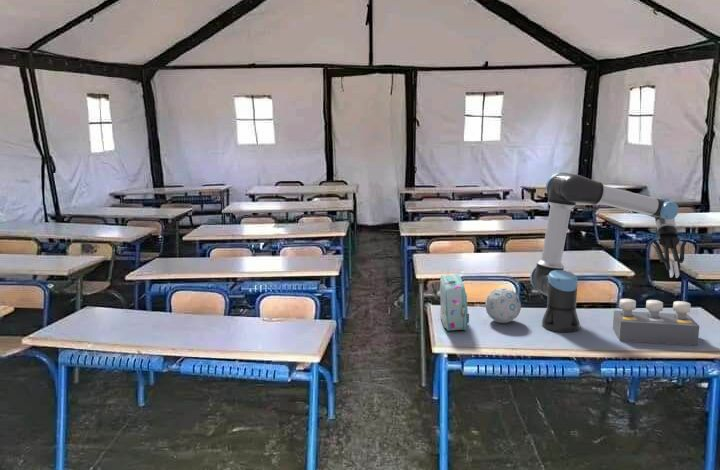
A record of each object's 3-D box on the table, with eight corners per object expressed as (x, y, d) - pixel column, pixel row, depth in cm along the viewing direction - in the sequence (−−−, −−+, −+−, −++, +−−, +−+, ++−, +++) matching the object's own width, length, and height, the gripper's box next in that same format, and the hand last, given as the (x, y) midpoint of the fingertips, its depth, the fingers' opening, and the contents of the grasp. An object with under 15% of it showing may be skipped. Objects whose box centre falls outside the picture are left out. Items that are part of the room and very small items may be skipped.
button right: (674, 324, 227) (676, 305, 226) (670, 319, 233) (671, 300, 231) (691, 325, 226) (692, 306, 224) (686, 320, 231) (688, 301, 230)
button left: (620, 321, 232) (621, 302, 230) (617, 316, 237) (618, 298, 236) (636, 322, 230) (637, 303, 229) (632, 317, 236) (634, 299, 235)
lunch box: (470, 335, 237) (471, 285, 233) (445, 335, 237) (445, 285, 233) (460, 314, 263) (461, 269, 259) (438, 314, 263) (438, 269, 259)
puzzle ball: (483, 325, 247) (484, 292, 245) (487, 314, 261) (487, 283, 259) (519, 329, 243) (520, 295, 240) (521, 317, 257) (522, 285, 254)
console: (619, 340, 227) (620, 321, 226) (612, 328, 241) (613, 310, 239) (697, 345, 221) (699, 325, 219) (686, 333, 234) (687, 313, 233)
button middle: (646, 323, 229) (648, 303, 228) (643, 318, 235) (644, 299, 234) (663, 323, 228) (664, 304, 227) (659, 319, 234) (660, 300, 232)
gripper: (682, 234, 252) (691, 281, 239) (646, 234, 255) (653, 279, 242) (687, 225, 246) (696, 272, 233) (650, 224, 249) (658, 270, 236)
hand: (674, 276), depth 238 cm, fingers closed
